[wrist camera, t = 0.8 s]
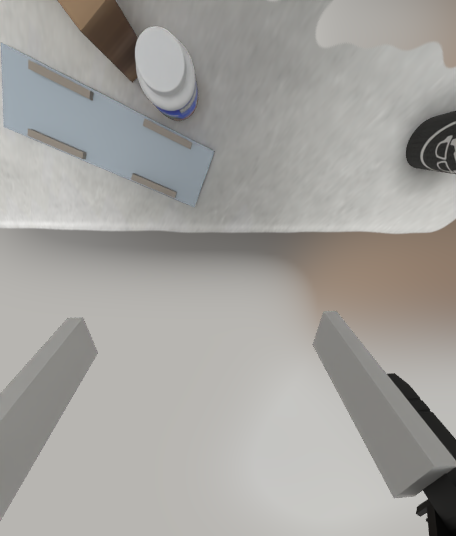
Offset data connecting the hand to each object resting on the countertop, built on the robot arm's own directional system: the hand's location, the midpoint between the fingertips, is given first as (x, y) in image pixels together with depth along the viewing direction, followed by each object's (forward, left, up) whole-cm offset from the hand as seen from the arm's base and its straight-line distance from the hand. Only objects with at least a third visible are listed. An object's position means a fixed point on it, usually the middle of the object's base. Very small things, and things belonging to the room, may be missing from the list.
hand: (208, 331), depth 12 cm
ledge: (-5, -15, -24) cm, 29 cm away
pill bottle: (-13, -10, -24) cm, 29 cm away
